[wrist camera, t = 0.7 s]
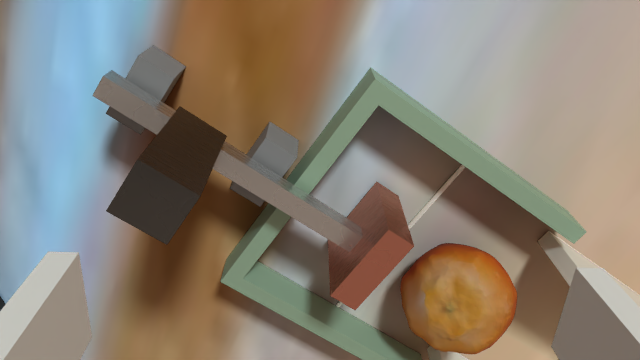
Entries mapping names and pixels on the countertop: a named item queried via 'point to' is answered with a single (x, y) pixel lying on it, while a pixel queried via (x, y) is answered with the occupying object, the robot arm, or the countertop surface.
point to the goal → (566, 264)
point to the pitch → (279, 154)
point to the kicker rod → (214, 153)
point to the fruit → (458, 298)
